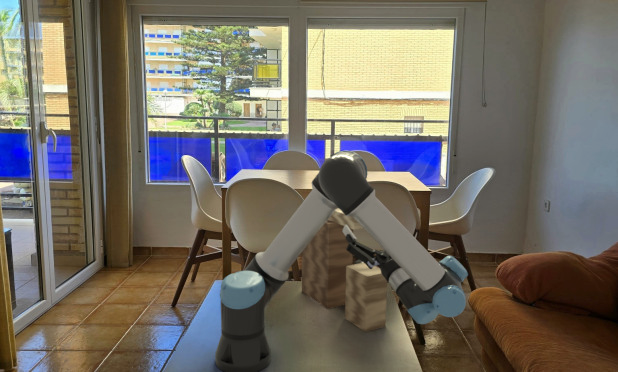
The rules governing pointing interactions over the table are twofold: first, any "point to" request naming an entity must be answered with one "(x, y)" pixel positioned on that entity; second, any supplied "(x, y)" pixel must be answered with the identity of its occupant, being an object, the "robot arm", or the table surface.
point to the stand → (326, 266)
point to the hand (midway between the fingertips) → (362, 225)
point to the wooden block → (344, 220)
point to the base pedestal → (365, 297)
